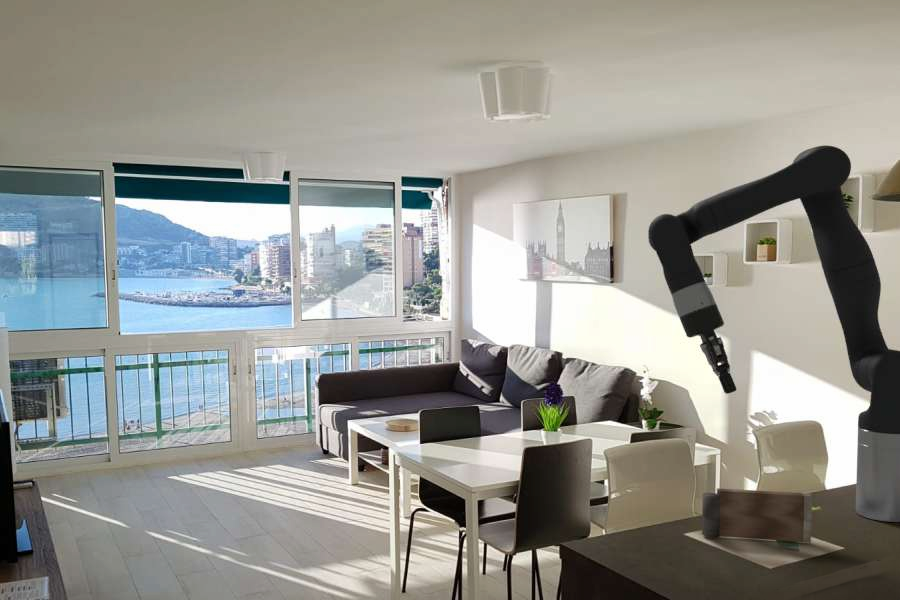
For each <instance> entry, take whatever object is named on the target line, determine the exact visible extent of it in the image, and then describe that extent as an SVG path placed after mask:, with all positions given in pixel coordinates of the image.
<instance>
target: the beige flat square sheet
mask: <svg viewBox="0 0 900 600" xmlns="http://www.w3.org/2000/svg"><path fill="white" fill-rule="evenodd" d="M683 535H685V536H687V537H689V538H692V539H695V540H697V541H700V542H702V543H704V544H706V545H709V546H712V547H714V548H717V549H720V550H722V551H724V552H727V553H730V554H733V555H734V556H737V557H739V558H742V559H744V560H745V559H746V560H747V561H750V562H753V563H755V564H758V565H759V566H763V567H765V568H768V569H775V568H778V567H782V566H785V565H790V564H793V563H797V562H800V561H803V560H807V559H811V558H814V557H818V556H822V555H823V556H824V555H826V554H829V553H833V552H837V551H840V550H845V547H843V546H840V545H836V544H835V543H830V542H828V541H824V540H823V539H822V540H821V539H818V538H816V537H813V536H811V543H808V542H796V541H780V540H765V539H750V538H734V537H707V536H704V535H703V534H702V529H700V530H696V531H692V532H687V533H683Z"/></svg>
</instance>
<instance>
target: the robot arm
mask: <svg viewBox="0 0 900 600" xmlns="http://www.w3.org/2000/svg"><path fill="white" fill-rule="evenodd" d="M851 170H852V163H851V159H850V157H849V156H848V154H847V153H846V152H845V151H844V150H842V149H841V148H838V146H832V145H819V146H818V145H817V146H815V147H811V148H808V149H805V150H804V151H802V152H800V153H798V155H796V157H795V158H794V160H793V161H792V163H791V164H789V165H787V166H786V167H784V168H781V169H780V170H777V171H775V172H773V173H771V174H769V175H767V176H764V177H761V178H759V179H756V180H753V181H749V182H746V183H744V184H741V185H738V186H736V187H735V186H734V187H732V188H730V189H726V190H724V191H722V192H719V193H717V194H714V195H712V196H710V197H708V198H705V199H703V200H700V201H699V202H696V203H695V204H693V205H692V206H691V207H690V208H689V209H688V210H686V211H684V212H681V213H679V214H677V215H673V214H670V213H664V214H660V215H657V216H656V217H655V218H653V220H652V221H651V223H650V225H649V227H648V235H647V236H648V237H647V238H648V242H649V246H650V247H651V248H652V249H653V251H655V253H656V255H657V257H658V259H659V262H660V264H661V267H662V270H663V271H662V272H663V275H664V280H665V282H666V284H667V288H668V290H669V293H670V294H671V297H672V301H673V305H674V308H675V310H676V313H677V316H678V318H679V320H680V323H681V325H682V329H683V330H684V332H685V335H686V337H687V338H689V339H690V338H695V337H697V336H699V337H700V339H701V343H700V344H699V347H700V349H701V352H702V353H703V354H704V356H705V357H706V360H707V363H708V365H709V366H710V367H711V368H712V372H714V373H713V374H715V375H716V377H717V378H718V380H719V383H720V385H721V387H722V390H723V393H724V394H726V395H728V394H731V393H735V392H736V391H737V387H736V384H735V382H734V379H733V377H732V374H731V366H730V362H729V360H728V359H729V357H728V355H727V353H726V350H725V346H724V341H723V339H722V336H719V337H718V336H717V334H716V332H715V330H717V329H720V328H722V327H723V326H725V322H724V319H723V317H722V314H721V313H720V310H719V307H718V305H717V302H716V300H715V297H714V295H713V293H712V291H711V288H710V287H709V285H708V284H707V282H706V280H705V277H704V275H703V273H702V270H701V268H700V266H699V263H698V261H697V259H696V258H695V254H694V252H693V247H692V244H694V243H695V242H697V241H699V240H701V239H703V238H705V237H708V236H709V235H713V234H717V233H718V232H720V231H723V230H726V229H728V228H730V227H732V226H735V225H738V224H740V223H741V222H742V223H743V222H744V221H747V220H748V219H751V218H753V217H755V216H758V215H760V214H762V213H764V212H766V211H769V210H772V209H773V208H776V207H778V206H782V205H784V204H786V203H789V202H792V201H795V200H798V199H799V200H800V203H801V205H802V206H803V209H804V211H805V213H806V216H807V217H808V221H809V224H810V227H811V231H812V235H813V240H814V243H815V247H816V250H817V254H818V257H819V259H820V260H819V261H820V265H821V268H822V271H823V274H824V278H825V281H826V283H827V286H828V290H829V292H830V295H831V298H832V301H833V304H834V307H835V310H836V313H837V316H838V317H837V318H838V320H839V322H840V325H841V329H842V332H843V336H844V341H845V347H846V351H847V356H848V361H849V366H850V371H851V374H852V377H853V379H854V381H855V383H856V384H857V385H858V386H859V387H860V388H861V389H863V390H864V391H866V392H869V393H870V401H869V406H868V408H867V409H866V410H865V411H864V410H863V411H862V412H860V413H859V414H858V417H857V446H856V447H857V452H856V453H857V454H856V456H857V457H856V486H855V488H856V489H855V513H856V514H857V515H859V516H861V517H864V518H867V519H870V520H876V521H880V522H889V523H900V350H897V349H891V348H888V345H887V343H886V341H885V339H884V336H883V332H882V329H881V327H880V322H879V306H880V300H881V291H882V284H881V283H882V282H881V277H880V273H879V270H878V267H877V264H876V261H875V258H874V255H873V253H872V250H871V248H870V245H869V243H868V242H867V240H866V238H865V237H864V235H863V234H862V232H861V230H860V228H859V227H858V225H856V223H855V221H854V220H853V218H852V217H851V215H850V213H849V211H848V208H847V206H846V203H845V200H844V195H843V191H842V186H843V185H844V184H845V183H846V182H847V180H848V179H849V177H850V175H851ZM719 363H720V364H719Z"/></svg>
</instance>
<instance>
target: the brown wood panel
mask: <svg viewBox="0 0 900 600" xmlns="http://www.w3.org/2000/svg"><path fill="white" fill-rule="evenodd" d="M701 507H702V513H701V514H702V515H701V516H702V517H701V518H702V519H701V520H702V521H701V530H702V534H703V535H704V536H707V537H734V538H750V539H765V540H780V541H796V542H808V543H811V537H812V516H813V515H812V512H813V510H812V507H813V496H812V494H810V493H809V492H792V491H791V492H789V491H775V490H774V491H772V490H754V489H753V490H752V489H751V490H749V489H737V488H716V492H703V493H702V506H701Z"/></svg>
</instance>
